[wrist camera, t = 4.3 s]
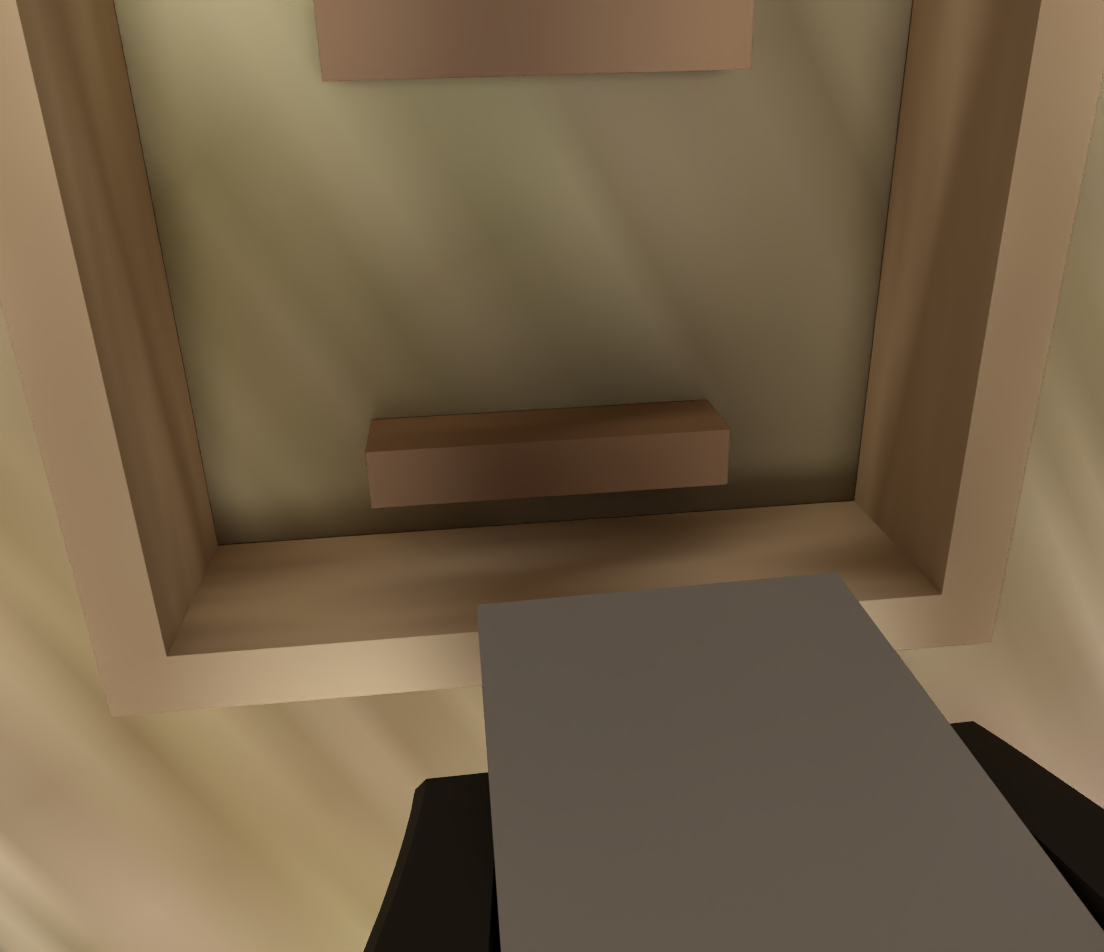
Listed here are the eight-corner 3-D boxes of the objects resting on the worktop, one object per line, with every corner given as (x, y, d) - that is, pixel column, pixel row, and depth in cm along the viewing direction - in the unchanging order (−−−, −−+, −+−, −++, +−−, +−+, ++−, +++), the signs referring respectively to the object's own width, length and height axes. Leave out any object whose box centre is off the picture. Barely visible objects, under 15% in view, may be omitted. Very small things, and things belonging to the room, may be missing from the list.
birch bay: (1000, -181, 14) (1168, -254, 11) (897, 543, 19) (991, 642, 15) (1, -177, 13) (-148, -256, 9) (171, 597, 17) (110, 717, 14)
